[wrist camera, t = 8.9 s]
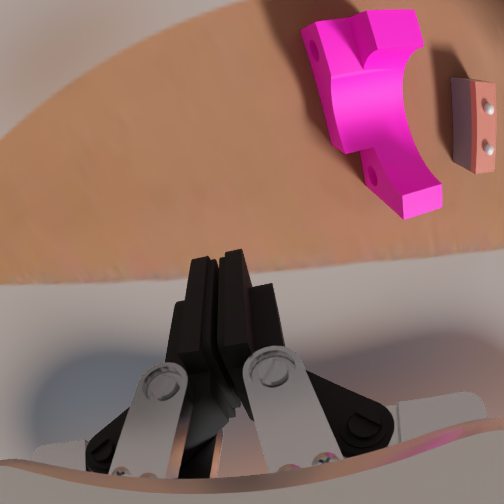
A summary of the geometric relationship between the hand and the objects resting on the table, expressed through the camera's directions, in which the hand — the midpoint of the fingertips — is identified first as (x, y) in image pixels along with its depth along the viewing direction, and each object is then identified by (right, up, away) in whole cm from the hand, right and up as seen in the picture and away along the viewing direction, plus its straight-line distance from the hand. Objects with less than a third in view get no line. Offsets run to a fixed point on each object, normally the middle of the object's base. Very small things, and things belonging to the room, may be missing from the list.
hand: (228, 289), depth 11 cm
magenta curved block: (+10, +14, +13) cm, 21 cm away
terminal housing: (+22, +15, +13) cm, 30 cm away
